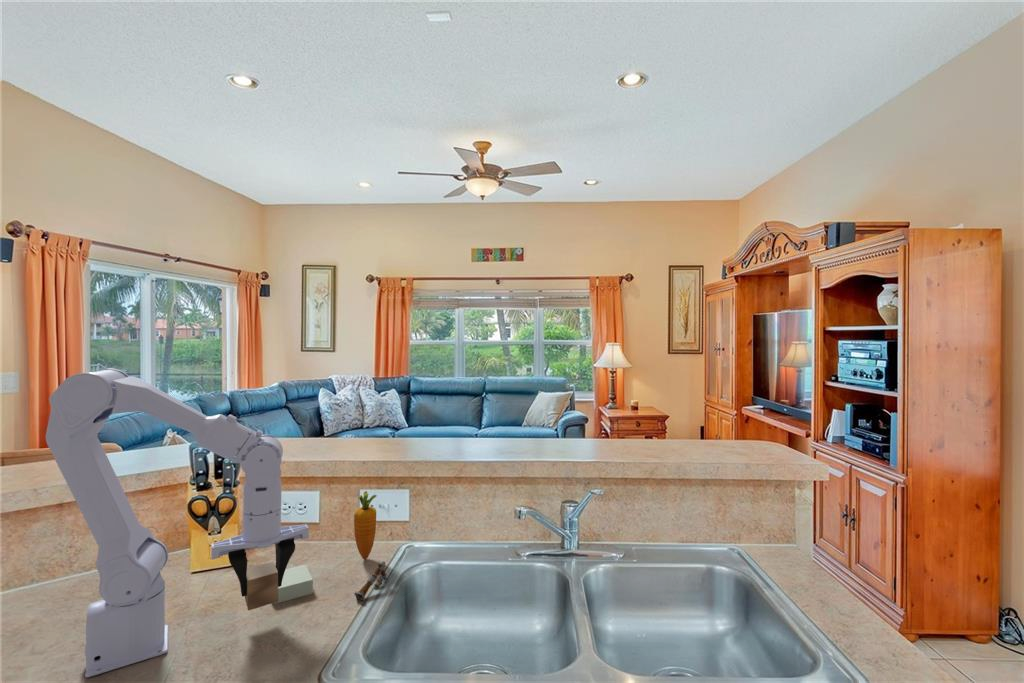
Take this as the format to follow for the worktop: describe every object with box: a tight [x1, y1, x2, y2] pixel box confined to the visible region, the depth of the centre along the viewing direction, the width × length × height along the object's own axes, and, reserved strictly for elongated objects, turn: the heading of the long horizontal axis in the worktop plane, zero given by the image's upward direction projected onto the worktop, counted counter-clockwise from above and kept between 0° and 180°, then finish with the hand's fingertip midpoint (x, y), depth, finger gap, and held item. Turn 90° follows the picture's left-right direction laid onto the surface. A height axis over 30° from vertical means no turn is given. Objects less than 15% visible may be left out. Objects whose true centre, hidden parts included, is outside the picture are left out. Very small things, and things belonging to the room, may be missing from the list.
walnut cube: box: [244, 561, 278, 611], centre depth 80 cm, size 4×4×5 cm
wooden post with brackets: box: [354, 560, 389, 602], centre depth 91 cm, size 2×8×4 cm, turn 156°
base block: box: [271, 563, 314, 605], centre depth 91 cm, size 7×7×3 cm
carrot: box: [353, 490, 377, 561], centre depth 103 cm, size 5×5×15 cm
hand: (261, 588), depth 80 cm, fingers closed on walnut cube, 4 cm apart
